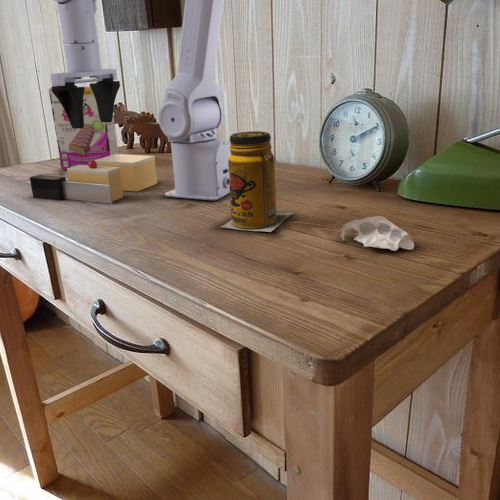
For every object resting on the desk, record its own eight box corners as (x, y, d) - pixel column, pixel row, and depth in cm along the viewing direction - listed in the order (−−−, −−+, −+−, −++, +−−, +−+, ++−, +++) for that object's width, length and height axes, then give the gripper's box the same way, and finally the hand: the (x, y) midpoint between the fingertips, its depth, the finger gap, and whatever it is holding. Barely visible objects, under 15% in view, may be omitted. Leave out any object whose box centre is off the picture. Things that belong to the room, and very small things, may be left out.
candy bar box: (60, 170, 112) (46, 88, 106) (70, 165, 116) (57, 86, 111) (112, 169, 110) (101, 86, 105) (120, 164, 115) (110, 84, 109)
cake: (157, 183, 97) (154, 155, 96) (137, 191, 92) (133, 162, 91) (119, 180, 101) (116, 153, 99) (98, 188, 96) (94, 160, 94)
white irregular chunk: (365, 231, 68) (366, 202, 66) (418, 247, 62) (421, 215, 60) (333, 242, 65) (334, 211, 63) (387, 260, 59) (388, 226, 57)
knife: (33, 197, 91) (29, 177, 90) (42, 194, 93) (38, 174, 92) (108, 205, 85) (105, 183, 84) (116, 201, 87) (113, 180, 85)
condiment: (219, 228, 72) (213, 137, 67) (246, 210, 79) (242, 127, 74) (270, 233, 69) (267, 138, 64) (293, 215, 76) (292, 128, 72)
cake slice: (123, 197, 89) (119, 159, 87) (112, 201, 87) (106, 163, 84) (83, 193, 93) (78, 157, 90) (71, 197, 90) (65, 161, 88)
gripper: (91, 44, 100) (101, 119, 104) (31, 45, 87) (45, 130, 92) (122, 42, 97) (131, 119, 101) (64, 43, 85) (77, 131, 89)
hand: (92, 125), depth 97 cm, fingers open, 7 cm apart
